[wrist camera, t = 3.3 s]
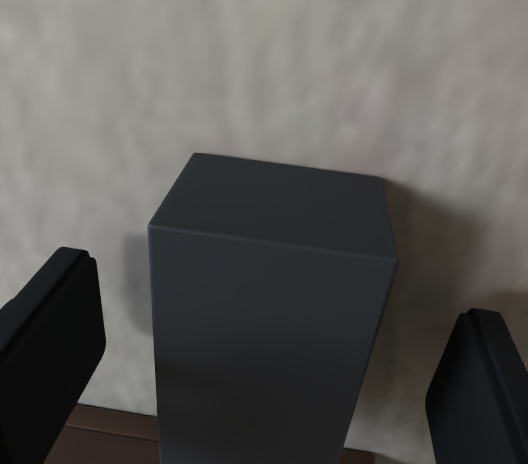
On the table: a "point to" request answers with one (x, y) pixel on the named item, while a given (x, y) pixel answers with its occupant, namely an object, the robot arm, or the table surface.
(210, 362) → the dark grey block
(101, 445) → the case
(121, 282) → the table surface
